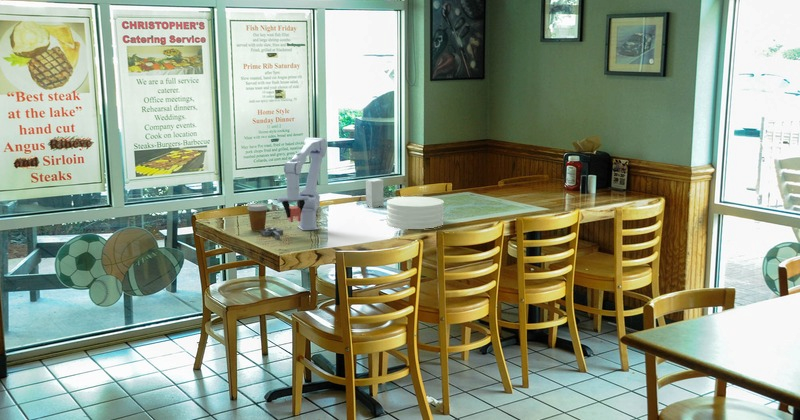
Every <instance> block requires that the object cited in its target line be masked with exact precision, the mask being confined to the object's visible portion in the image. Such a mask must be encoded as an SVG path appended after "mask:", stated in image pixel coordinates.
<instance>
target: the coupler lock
mask: <svg viewBox="0 0 800 420" xmlns="http://www.w3.org/2000/svg"><path fill="white" fill-rule="evenodd" d="M286 220H287V221H289V222H290V223H293V222H294V220H296V221H297V222H299V221H301V212H300V208H299V207H297V205H289V218H287V217H286Z"/></svg>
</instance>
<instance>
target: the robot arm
mask: <svg viewBox="0 0 800 420" xmlns="http://www.w3.org/2000/svg"><path fill="white" fill-rule="evenodd" d="M327 148H328V143H327V140H326V138H324V137H309V136H306V137H305V139H304V141H303V146H302V148H301V150H300V151H298V152H296V153H295V155H294V156H293V157H292V158H291V159H290V161H287V162H285V163H284V165H283V172H284V176H285V179H286V196H283V197H276V198H277V199H276V200H277V203H279V204H280V203H281V204H282V206H283V208H284V211H285V213H286V214H285V215H286V219H287V218H289V206H291V205H290V202H291V203H292V202H296V204H295V205H296V206H297V207H299V208H300V212H301V221H298V222H299V225H297V228H299V229H300V230H302V231H312V230H313V231H314V230H319V227H317V210H318V209H319V207H320V200H321V195H319V193H318V191H316V190H317V185H318V180H319V176H320V171H321V168H322V167H321V166H322V163H323V158H324V157H326V154H327V153H326V152H327ZM307 156H308V157H310V159H311V160H310V166H309V169H308V174H307V178H306V183H305V188H304V189H303V190H301V191H300V174H301V173H302V169H303V166H304V165H305V163H306V161H307Z"/></svg>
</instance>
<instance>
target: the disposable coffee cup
mask: <svg viewBox="0 0 800 420" xmlns="http://www.w3.org/2000/svg"><path fill="white" fill-rule="evenodd" d="M246 209H247V210H248V218H249V224H250V229H251V231H253V232H261V229H266V220H267V211H268V205H267V204H266V203H262V202H261V203H250V204H248V205H247V208H246Z"/></svg>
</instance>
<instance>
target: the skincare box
mask: <svg viewBox="0 0 800 420" xmlns="http://www.w3.org/2000/svg"><path fill="white" fill-rule="evenodd" d="M384 199H385V198H384V179H380V178H372V179H366V180H365V201H366V202H365V206H366V205H367V206H370V207H369V208H371V207H374V208H379V206H380V207H384ZM367 206H366V207H367Z"/></svg>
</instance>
